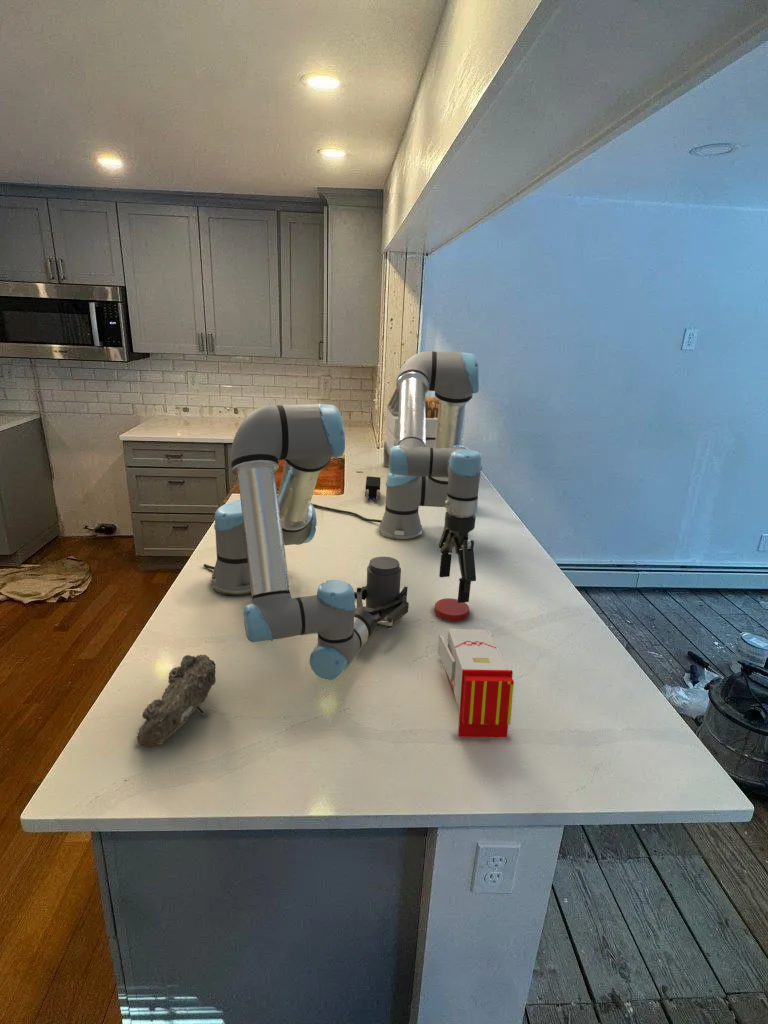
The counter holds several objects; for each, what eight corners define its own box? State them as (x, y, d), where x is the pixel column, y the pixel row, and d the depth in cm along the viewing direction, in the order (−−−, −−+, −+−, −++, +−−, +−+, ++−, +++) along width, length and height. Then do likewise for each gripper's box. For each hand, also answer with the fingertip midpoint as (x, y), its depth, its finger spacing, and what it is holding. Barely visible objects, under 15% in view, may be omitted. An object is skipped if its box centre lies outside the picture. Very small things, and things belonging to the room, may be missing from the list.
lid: (462, 603, 154) (463, 597, 154) (473, 620, 146) (474, 614, 145) (430, 605, 153) (431, 599, 152) (439, 622, 144) (440, 616, 144)
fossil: (167, 656, 118) (217, 624, 113) (199, 686, 121) (249, 656, 116) (112, 740, 99) (170, 705, 94) (152, 773, 102) (210, 741, 97)
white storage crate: (382, 463, 289) (386, 382, 275) (445, 464, 293) (451, 384, 279) (390, 482, 257) (394, 392, 243) (460, 483, 261) (468, 394, 247)
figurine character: (380, 506, 230) (380, 491, 243) (381, 489, 227) (381, 475, 240) (364, 506, 230) (364, 491, 243) (364, 489, 226) (365, 474, 240)
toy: (488, 613, 130) (523, 677, 101) (484, 667, 133) (517, 744, 104) (435, 612, 130) (455, 676, 101) (432, 666, 133) (451, 743, 103)
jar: (403, 613, 148) (407, 560, 143) (389, 628, 141) (392, 572, 135) (374, 605, 151) (377, 552, 146) (359, 619, 144) (361, 564, 139)
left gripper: (312, 633, 133) (351, 592, 153) (397, 655, 126) (427, 609, 146) (312, 605, 130) (352, 567, 150) (399, 626, 123) (429, 583, 143)
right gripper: (430, 496, 150) (424, 568, 158) (465, 533, 128) (457, 615, 136) (456, 495, 152) (450, 566, 160) (496, 531, 130) (486, 612, 137)
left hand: (389, 587), depth 148 cm, fingers closed on jar, 8 cm apart
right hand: (453, 588), depth 148 cm, fingers open, 13 cm apart
